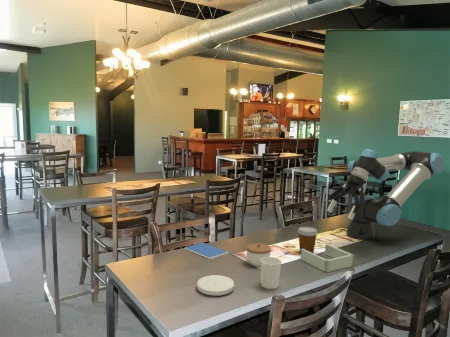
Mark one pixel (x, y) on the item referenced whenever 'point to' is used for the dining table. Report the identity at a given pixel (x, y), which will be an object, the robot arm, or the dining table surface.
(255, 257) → the lidded jar
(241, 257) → the dining table surface
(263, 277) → the white cup
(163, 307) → the dining table surface
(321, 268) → the tub
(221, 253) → the blue notebook
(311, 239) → the disposable coffee cup
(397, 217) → the robot arm
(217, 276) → the plastic lid
